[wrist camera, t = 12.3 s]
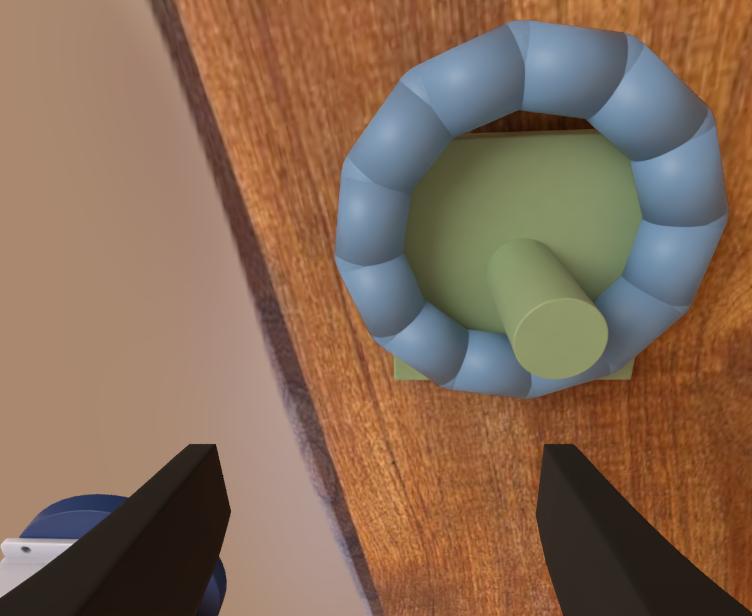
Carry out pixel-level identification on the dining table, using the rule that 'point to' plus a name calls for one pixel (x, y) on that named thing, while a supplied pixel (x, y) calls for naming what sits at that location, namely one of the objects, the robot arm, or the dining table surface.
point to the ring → (549, 96)
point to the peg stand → (525, 242)
